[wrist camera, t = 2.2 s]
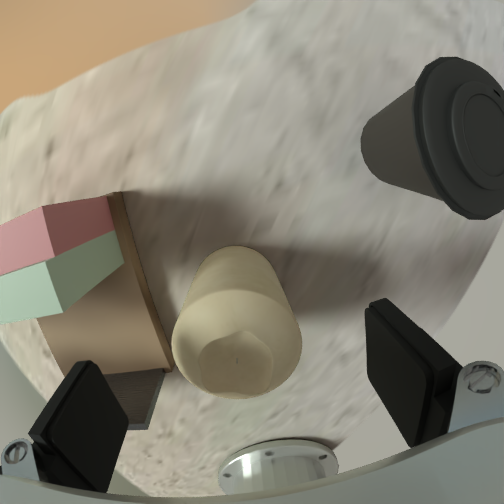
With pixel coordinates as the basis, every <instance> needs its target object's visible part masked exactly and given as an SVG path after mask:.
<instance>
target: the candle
mask: <svg viewBox="0 0 504 504" xmlns="http://www.w3.org/2000/svg"><path fill="white" fill-rule="evenodd" d="M171 344H172V353H173V357H174V360H175V362H176V365H177V366H178V368H179V370H180V371H181V373H182V374H183V375H184V377H185V378H186V379H187V380H188V381H189V382H190V383H192V384H193V385H194V386H196V387H197V388H199V389H200V390H202V391H204V392H206V393H208V394H211V395H214V396H217V397H222V398H228V399H247V398H252V397H257V396H260V395H263V394H265V393H268V392H270V391H272V390H274V389H275V388H277V387H278V386H280V385H281V384H282V383H283V382H284V381H286V380H287V379H288V378H289V376H290V375H291V374H292V373H293V371H294V370H295V368H296V366H297V364H298V362H299V359H300V356H301V351H302V337H301V332H300V329H299V326H298V323H297V321H296V318H295V316H294V314H293V312H292V309H291V307H290V305H289V303H288V300H287V298H286V296H285V293H284V291H283V289H282V287H281V284H280V282H279V280H278V278H277V275H276V273H275V271H274V269H273V267H272V265H271V264H270V263H269V261H268V260H267V259H266V258H265V257H264V256H263V255H261V254H260V253H258V252H257V251H255V250H253V249H251V248H247V247H243V246H228V247H224V248H221V249H218V250H217V251H215V252H213V253H212V254H210V255H209V256H208V257H207V258H206V259H205V260H204V261H203V262H202V263H201V265H200V267H199V268H198V270H197V273H196V275H195V277H194V280H193V282H192V285H191V287H190V289H189V292H188V294H187V297H186V299H185V302H184V304H183V307H182V309H181V312H180V314H179V317H178V319H177V322H176V324H175V327H174V330H173V334H172V343H171Z"/></svg>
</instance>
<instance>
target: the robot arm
mask: <svg viewBox="0 0 504 504" xmlns="http://www.w3.org/2000/svg"><path fill="white" fill-rule="evenodd" d="M365 327H366V350H367V375H368V378H369V381H370V382H371V384H372V386H373V387H374V389H375V391H376V392H377V394H378V395H379V397H380V399H381V400H382V402H383V404H384V405H385V407H386V409H387V410H388V412H389V414H390V415H391V417H392V419H393V420H394V422H395V423H396V425H397V427H398V429H399V431H400V432H401V434H402V436H403V437H404V439H405V441H406V442H407V444H408V446H409V447H410V448H411V449H409V450H406V451H404V452H401V453H399V454H396V455H394V456H391V457H389V458H386V459H383V460H380V461H377V462H375V463H372V464H369V465H366V466H363V467H360V468H357V469H353V470H350V471H347V472H344V473H340V474H337V473H338V467H339V465H338V462H337V458H336V456H335V454H334V452H333V451H332V450H331V449H329V448H328V447H326V446H324V445H322V444H320V443H316V442H313V441H306V440H291V439H289V440H276V441H270V442H264V443H261V444H257V445H253V446H250V447H248V448H245V449H243V450H240V451H239V452H237V453H235V454H233V455H231V456H230V457H229V458H228V459H226V460H225V461H224V463H223V464H222V465H221V467H220V469H219V472H218V483H219V486H220V488H221V489H222V491H223V492H224V493H225V494H227V495H221V496H207V497H142V496H128V495H116V494H108V493H106V492H107V491H108V487H109V484H110V481H111V478H112V474H113V471H114V468H115V465H116V462H117V459H118V456H119V453H120V450H121V447H122V444H123V441H124V438H125V435H126V432H127V429H128V426H129V420H128V417H127V415H126V413H125V412H124V410H123V409H122V407H121V405H120V404H119V402H118V400H117V399H116V397H115V395H114V394H113V392H112V390H111V388H110V387H109V385H108V383H107V381H106V379H105V378H104V376H103V374H102V372H101V370H100V368H99V366H98V365H97V364H95V363H94V362H93V361H91V360H85V361H77V362H76V363H75V364H74V365H73V367H72V368H71V370H70V371H69V372H68V374H67V375H66V377H65V378H64V380H63V381H62V382H61V384H60V385H59V387H58V388H57V390H56V391H55V393H54V394H53V396H52V397H51V399H50V400H49V402H48V403H47V405H46V406H45V408H44V409H43V411H42V412H41V414H40V415H39V417H38V418H37V420H36V421H35V423H34V425H33V426H32V428H31V429H30V431H29V433H28V434H29V436H30V437H31V438H32V439H33V441H34V443H33V444H31V443H30V442H29V441H28V440H27V439H24V438H21V439H16V440H14V441H12V442H10V443H9V444H8V445H7V446H6V447H5V448H4V450H3V452H2V455H1V464H2V465H1V466H0V504H504V371H503V370H502V368H501V367H499V366H498V365H497V364H495V363H492V362H489V361H476V362H473V363H470V364H468V365H466V366H465V367H462V366H461V365H460V364H459V363H458V362H457V361H456V360H455V359H454V358H453V357H452V356H451V355H450V354H449V353H448V352H446V351H445V350H444V349H443V348H442V347H441V346H440V345H439V344H438V343H437V342H436V341H435V340H434V339H433V338H432V337H430V336H429V335H428V334H427V333H426V332H425V331H424V330H423V329H422V328H420V327H418V326H417V325H416V324H415V323H414V322H413V321H412V320H411V319H410V318H408V317H407V316H406V315H405V314H404V313H403V312H402V311H401V310H400V309H398V308H397V307H396V306H395V305H394V304H393V303H392V302H391V301H389V300H388V299H387V298H383V299H380V300H377V301H374V302H371V303H370V304H369V308H366V309H365Z"/></svg>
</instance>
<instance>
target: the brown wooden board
mask: <svg viewBox="0 0 504 504" xmlns="http://www.w3.org/2000/svg"><path fill="white" fill-rule="evenodd" d="M103 196H107V200H108V205H109V209H110V213H111V216H112V220H113V224H114V228H115V232H116V235H117V239H118V242H119V246H120V249H121V253H122V256H123V259H124V262H125V263H124V264H122V265H121V266H120V267H119V268H117V269H116V270H115V271H113V272H112V273H111V274H110V275H108V276H107V277H106V278H105V279H103V280H102V281H101V282H100V283H98V284H97V285H96V286H95V287H93V288H92V289H91V290H90V291H88V292H87V293H86V294H85V295H84V296H82V297H81V298H80V299H79V300H78V301H76V302H75V303H74V304H73V305H72V306H70V307H69V308H68V309H67V310H66V311H65V312H63V313H59V314H54V315H49V316H43V317H38V318H37V321H38V323H39V325H40V328H41V330H42V332H43V334H44V337H45V339H46V341H47V343H48V345H49V347H50V349H51V352H52V354H53V356H54V358H55V360H56V362H57V364H58V365H59V367H60V369H61V371H62V373H63V375H64V377H66V375H67V374H68V372H69V371H70V370H71V368H72V367H73V365H74V364H75V363H76V362H77V361H85V360H91V361H93V362H94V363H95V364H97V365H98V366H99V368H100V370H101V372H102V374H113V373H123V372H132V371H141V370H149V369H156V368H164V370H165V373H169V372H172V370H173V367H174V364H175V360H174V357H173V354H172V352H171V349H170V347H169V344H168V341H167V339H166V336H165V334H164V331H163V328H162V325H161V323H160V320H159V317H158V314H157V312H156V309H155V306H154V303H153V300H152V297H151V294H150V291H149V288H148V285H147V282H146V279H145V276H144V273H143V269H142V266H141V263H140V260H139V256H138V253H137V249H136V246H135V242H134V239H133V235H132V232H131V228H130V224H129V221H128V217H127V213H126V209H125V205H124V201H123V197H122V192H121V191H120V192H112V193H109V194H106V195H103ZM103 196H100V197H103Z"/></svg>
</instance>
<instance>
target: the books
mask: <svg viewBox="0 0 504 504" xmlns="http://www.w3.org/2000/svg"><path fill="white" fill-rule="evenodd" d="M124 263H125V262H124V259H123V256H122V253H121V249H120V246H119V242H118V239H117V235H116V232H115V228H114V224H113V220H112V216H111V213H110V209H109V205H108V200H107V196H103V197H96V198H89V199H83V200H76V201H70V202H64V203H58V204H52V205H46V206H41V207H39V208H37V209H34V210H32V211H30V212H28V213H25V214H23V215H21V216H19V217H17V218H15V219H13V220H10V221H8V222H6V223H4V224H2V225H0V325H1V324H6V323H12V322H17V321H22V320H28V319H33V318H38V317H43V316H49V315H54V314H59V313H63V312H65V311H66V310H67V309H68V308H69V307H70V306H72V305H73V304H74V303H75V302H76V301H78V300H79V299H80V298H81V297H82V296H84V295H85V294H86V293H87V292H88V291H90V290H91V289H92V288H93V287H95V286H96V285H97V284H98V283H100V282H101V281H102V280H103V279H105V278H106V277H107V276H108V275H110V274H111V273H112V272H113V271H115V270H116V269H117V268H119V267H120V266H121V265H122V264H124Z"/></svg>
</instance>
